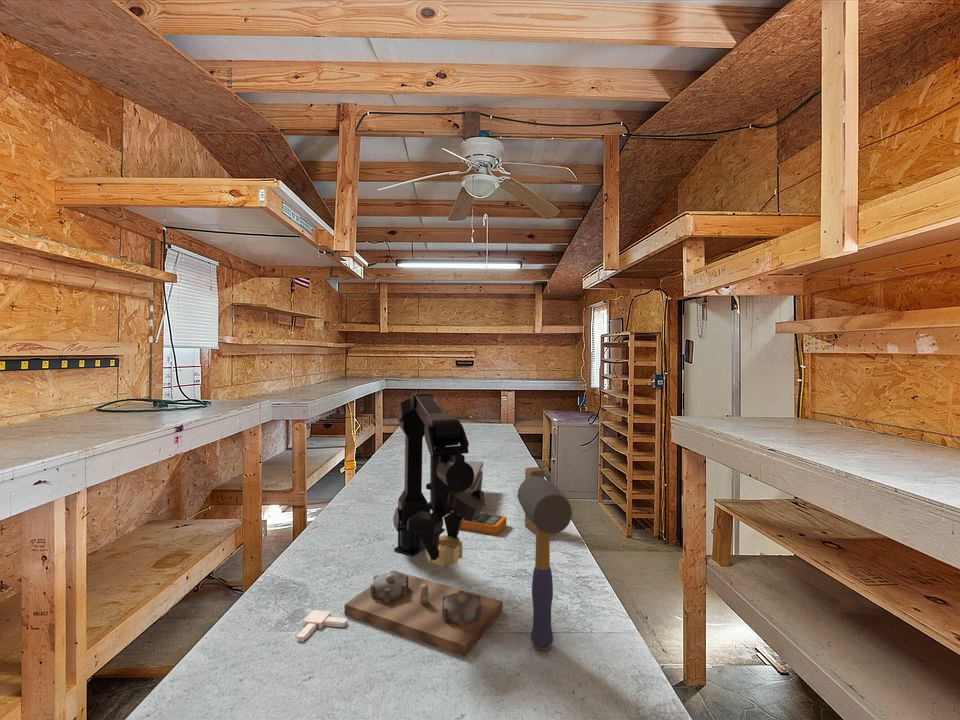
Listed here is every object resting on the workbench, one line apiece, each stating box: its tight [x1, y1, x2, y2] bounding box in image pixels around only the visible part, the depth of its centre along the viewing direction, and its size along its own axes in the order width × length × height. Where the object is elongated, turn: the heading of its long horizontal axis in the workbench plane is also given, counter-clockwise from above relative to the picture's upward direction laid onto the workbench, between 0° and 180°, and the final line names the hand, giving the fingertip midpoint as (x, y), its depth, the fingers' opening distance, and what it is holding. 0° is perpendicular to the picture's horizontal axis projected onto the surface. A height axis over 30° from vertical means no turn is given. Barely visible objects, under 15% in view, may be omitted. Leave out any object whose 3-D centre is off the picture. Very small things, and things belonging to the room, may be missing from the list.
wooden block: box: [524, 466, 552, 536], centre depth 136 cm, size 9×4×18 cm, turn 19°
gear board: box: [344, 570, 504, 658], centre depth 93 cm, size 28×16×6 cm, turn 63°
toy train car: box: [465, 460, 484, 494], centre depth 164 cm, size 25×8×11 cm, turn 172°
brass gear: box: [425, 534, 464, 566], centre depth 96 cm, size 8×8×3 cm
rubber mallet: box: [517, 476, 573, 651], centre depth 82 cm, size 12×8×30 cm, turn 9°
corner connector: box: [296, 609, 348, 642], centre depth 87 cm, size 8×8×2 cm
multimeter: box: [460, 512, 507, 536], centre depth 139 cm, size 9×18×3 cm, turn 68°
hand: (443, 552), depth 96 cm, fingers closed on brass gear, 7 cm apart
